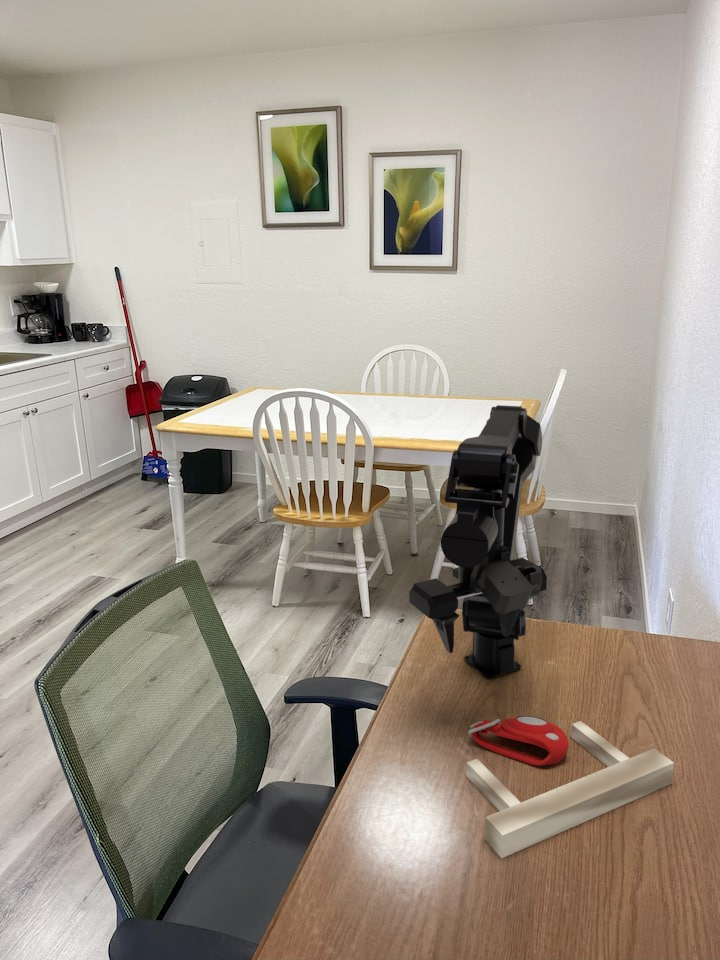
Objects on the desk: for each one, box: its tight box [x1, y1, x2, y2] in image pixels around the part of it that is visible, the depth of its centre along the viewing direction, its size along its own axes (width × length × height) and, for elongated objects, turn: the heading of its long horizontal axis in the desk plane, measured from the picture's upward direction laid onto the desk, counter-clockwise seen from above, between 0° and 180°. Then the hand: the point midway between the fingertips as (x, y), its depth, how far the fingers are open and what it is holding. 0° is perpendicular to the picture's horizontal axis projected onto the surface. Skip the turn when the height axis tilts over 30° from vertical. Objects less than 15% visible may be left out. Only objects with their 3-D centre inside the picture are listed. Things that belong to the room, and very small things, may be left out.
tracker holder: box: [467, 715, 569, 767], centre depth 95 cm, size 12×4×10 cm
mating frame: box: [465, 720, 675, 859], centre depth 88 cm, size 12×25×3 cm, turn 116°
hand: (477, 643), depth 101 cm, fingers open, 9 cm apart
